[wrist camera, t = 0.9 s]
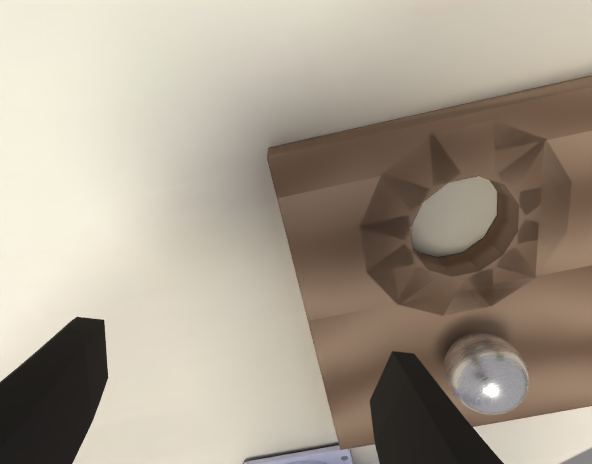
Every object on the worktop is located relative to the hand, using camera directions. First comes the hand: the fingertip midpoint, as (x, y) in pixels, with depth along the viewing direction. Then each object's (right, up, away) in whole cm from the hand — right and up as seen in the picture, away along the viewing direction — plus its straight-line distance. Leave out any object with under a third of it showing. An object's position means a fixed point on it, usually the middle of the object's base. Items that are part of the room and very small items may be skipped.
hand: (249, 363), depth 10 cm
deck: (+10, 0, +13) cm, 16 cm away
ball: (+11, -4, +10) cm, 16 cm away
